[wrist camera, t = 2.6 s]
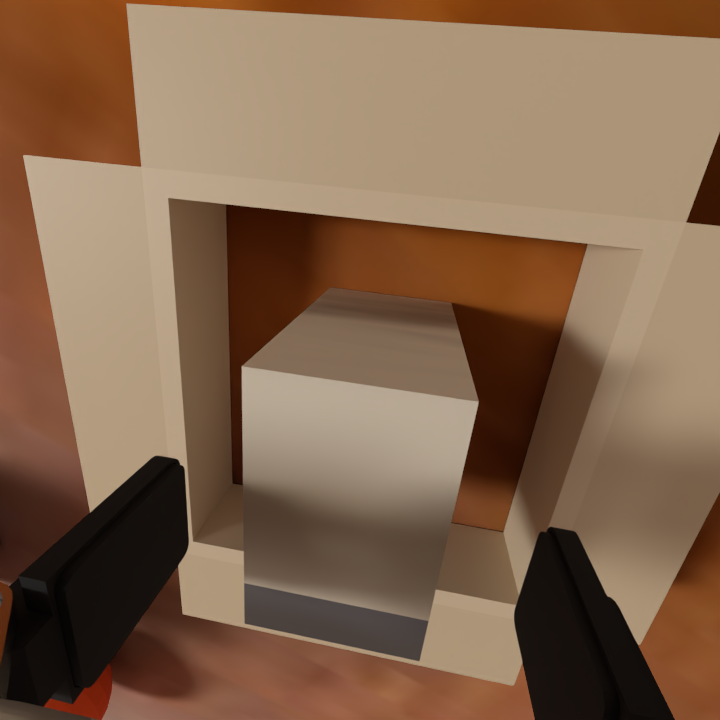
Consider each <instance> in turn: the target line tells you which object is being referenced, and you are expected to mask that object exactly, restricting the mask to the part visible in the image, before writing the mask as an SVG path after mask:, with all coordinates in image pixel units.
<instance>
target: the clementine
mask: <svg viewBox="0 0 720 720" xmlns="http://www.w3.org/2000/svg"><path fill="white" fill-rule="evenodd" d="M111 691H112V670H111V667H110V664H108V666H107V667H106V668H105V670H104V671H103V673H102V674H101V675H100V677H99V678H98V680H97V681H96V682H95V683H94V684H93V685H92V686H91V687H89V688H84V690H83V691H82V692H81V694H80V695H79V696H78V698H77V699H76V701H75V702H74V703H73V704H70V703H66V702H62V701H58V700H54V699H49V700H48V702H47V703H46V704H45V706H44V707H46V708H50V709H55V710H59V711H64V712H68V713H72V714H77V715H81V716H85V717H90V718H94V719H98V720H102V718H103V716H104V714H105V712H106V710H107V707H108V703H109V699H110V695H111Z"/></svg>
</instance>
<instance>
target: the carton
mask: <svg viewBox="0 0 720 720" xmlns="http://www.w3.org/2000/svg"><path fill="white" fill-rule="evenodd" d="M127 15H128V26H129V37H130V48H131V59H132V70H133V81H134V91H135V102H136V113H137V124H138V135H139V146H140V157H141V167H136V166H126V165H116V164H106V163H96V162H86V161H77V160H67V159H57V158H47V157H37V156H27V155H23V157H24V163H25V168H26V173H27V179H28V184H29V189H30V195H31V200H32V205H33V211H34V216H35V221H36V227H37V232H38V237H39V243H40V248H41V253H42V259H43V264H44V269H45V275H46V280H47V285H48V291H49V296H50V301H51V307H52V312H53V317H54V323H55V328H56V333H57V339H58V344H59V349H60V355H61V360H62V366H63V371H64V376H65V382H66V387H67V392H68V398H69V403H70V408H71V414H72V419H73V424H74V430H75V435H76V440H77V446H78V451H79V456H80V462H81V467H82V472H83V478H84V483H85V488H86V494H87V499H88V504H89V510H90V512H91V511H92V510H94V509H95V508H96V507H97V506H98V505H99V504H100V503H101V502H103V501H104V500H105V499H106V498H107V497H108V496H109V495H111V494H112V493H113V492H114V491H115V490H116V489H117V488H118V487H120V486H121V485H122V484H123V483H124V482H125V481H126V480H127V479H129V478H130V477H131V476H132V475H133V474H134V473H135V472H136V471H138V470H139V469H140V468H141V467H142V466H143V465H144V464H145V463H147V462H148V461H149V460H150V459H151V458H152V457H154V456H157V455H158V456H164V457H169V458H175V459H178V460H179V462H180V465H182V466H183V467H184V469H185V483H186V500H187V517H188V535H189V546H188V549H187V552H186V554H185V556H184V558H183V559H182V561H181V562H180V564H179V565H178V570H179V580H180V591H181V602H182V613H183V614H184V615H189V616H193V617H198V618H203V619H207V620H212V621H216V622H221V623H226V624H230V625H235V626H239V627H244V628H249V629H253V630H258V631H263V632H267V633H272V634H276V635H281V636H286V637H290V638H295V639H299V640H304V641H309V642H313V643H318V644H323V645H327V646H332V647H336V648H341V649H346V650H350V651H355V652H359V653H364V654H369V655H373V656H378V657H383V658H387V659H392V660H396V661H401V662H406V663H410V664H415V665H419V666H424V667H429V668H433V669H438V670H442V671H447V672H452V673H456V674H461V675H466V676H470V677H475V678H479V679H484V680H489V681H493V682H498V683H502V684H507V685H512V686H514V684H515V681H516V678H517V676H518V673H519V670H520V668H521V665H522V657H521V653H520V648H519V643H518V639H517V634H516V630H515V624H514V611H515V607H516V604H517V601H518V597H519V594H520V591H521V588H522V585H523V582H524V579H525V576H526V572H527V569H528V566H529V563H530V560H531V557H532V554H533V551H534V547H535V544H536V541H537V538H538V535H539V533H540V532H542V531H543V532H546V531H547V529H548V528H549V527H555V528H560V529H566V530H571V531H575V532H576V533H577V535H578V536H579V538H580V540H581V543H582V545H583V547H584V549H585V551H586V553H587V555H588V557H589V559H590V561H591V563H592V566H593V568H594V570H595V572H596V574H597V576H598V578H599V580H600V582H601V584H602V586H603V589H604V591H605V593H606V595H607V597H611V598H612V599H613V600H614V601H615V602H616V603H617V605H618V607H619V608H620V610H621V612H622V614H623V616H624V618H625V620H626V622H627V624H628V626H629V628H630V630H631V632H632V634H633V636H634V638H635V640H636V642H637V644H639V645H640V644H641V642H642V640H643V638H644V636H645V634H646V633H647V631H648V629H649V627H650V625H651V623H652V621H653V619H654V617H655V615H656V613H657V611H658V610H659V608H660V606H661V604H662V602H663V600H664V598H665V596H666V594H667V592H668V590H669V588H670V587H671V585H672V583H673V581H674V579H675V577H676V575H677V573H678V571H679V569H680V567H681V566H682V564H683V562H684V560H685V558H686V556H687V554H688V552H689V550H690V548H691V546H692V544H693V543H694V541H695V539H696V537H697V535H698V533H699V531H700V529H701V527H702V525H703V523H704V521H705V520H706V518H707V516H708V514H709V512H710V510H711V508H712V506H713V504H714V502H715V500H716V498H717V497H718V495H719V493H720V226H715V225H705V224H695V223H686V221H687V219H688V216H689V213H690V211H691V208H692V205H693V203H694V200H695V197H696V195H697V192H698V189H699V187H700V184H701V181H702V178H703V176H704V173H705V170H706V168H707V165H708V162H709V160H710V157H711V154H712V152H713V149H714V146H715V144H716V141H717V138H718V135H719V133H720V39H716V38H699V37H682V36H665V35H649V34H632V33H615V32H598V31H581V30H564V29H547V28H530V27H513V26H496V25H480V24H463V23H446V22H429V21H412V20H395V19H378V18H361V17H344V16H327V15H310V14H294V13H277V12H260V11H243V10H226V9H209V8H192V7H175V6H158V5H141V4H127ZM226 204H229V205H238V206H247V207H256V208H265V209H274V210H284V211H293V212H302V213H311V214H320V215H329V216H339V217H348V218H357V219H366V220H375V221H384V222H394V223H403V224H412V225H421V226H430V227H439V228H449V229H458V230H467V231H476V232H485V233H494V234H504V235H513V236H522V237H531V238H540V239H549V240H559V241H568V242H577V243H586V244H588V245H587V249H586V252H585V256H584V259H583V262H582V266H581V269H580V273H579V276H578V280H577V283H576V286H575V290H574V293H573V297H572V300H571V303H570V307H569V310H568V314H567V317H566V320H565V324H564V327H563V331H562V334H561V338H560V341H559V344H558V348H557V351H556V355H555V358H554V361H553V365H552V368H551V372H550V375H549V379H548V382H547V385H546V389H545V392H544V396H543V399H542V402H541V406H540V409H539V413H538V416H537V419H536V423H535V426H534V430H533V433H532V437H531V440H530V443H529V447H528V450H527V454H526V457H525V460H524V464H523V467H522V471H521V474H520V477H519V481H518V484H517V488H516V491H515V495H514V498H513V501H512V505H511V508H510V512H509V515H508V518H507V522H506V525H505V529H504V532H499V531H493V530H488V529H482V528H477V527H471V526H466V525H460V524H454V523H451V526H450V530H449V534H448V539H447V543H446V548H445V552H444V556H443V561H442V565H441V569H440V574H439V578H438V582H437V587H436V591H435V596H434V600H433V604H432V609H431V613H430V617H429V622H428V626H427V630H426V635H425V639H424V644H423V648H422V652H421V657H420V661H415V660H411V659H406V658H401V657H397V656H392V655H387V654H383V653H378V652H374V651H369V650H364V649H360V648H355V647H350V646H346V645H341V644H337V643H332V642H327V641H323V640H318V639H313V638H309V637H304V636H300V635H295V634H290V633H286V632H281V631H276V630H272V629H267V628H263V627H258V626H253V625H249V624H245V617H244V530H243V485H238V484H233V482H232V440H231V397H230V354H229V311H228V268H227V225H226Z"/></svg>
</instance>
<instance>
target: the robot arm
mask: <svg viewBox="0 0 720 720" xmlns="http://www.w3.org/2000/svg"><path fill="white" fill-rule="evenodd" d="M188 546H189V535H188V517H187V500H186V483H185V469H184V467H183V466H182V465H180V462H179V460H178V459H175V458H169V457H164V456H158V455H157V456H154V457H152V458H151V459H150V460H149V461H148V462H147V463H145V464H144V465H143V466H142V467H141V468H140V469H139V470H138V471H136V472H135V473H134V474H133V475H132V476H131V477H130V478H129V479H127V480H126V481H125V482H124V483H123V484H122V485H121V486H120V487H118V488H117V489H116V490H115V491H114V492H113V493H112V494H111V495H109V496H108V497H107V498H106V499H105V500H104V501H103V502H101V503H100V504H99V505H98V506H97V507H96V508H95V509H94V510H92V511H91V512H90V513H89V514H88V515H87V516H86V517H85V518H83V519H82V520H81V521H80V522H79V523H78V524H77V525H76V526H74V527H73V528H72V529H71V530H70V531H69V532H68V533H67V534H65V535H64V536H63V537H62V538H61V539H60V540H59V541H57V542H56V543H55V544H54V545H53V546H52V547H51V548H50V549H48V550H47V551H46V552H45V553H44V554H43V555H42V556H41V557H39V558H38V559H37V560H36V561H35V562H34V563H33V564H32V565H30V566H29V567H28V568H27V569H26V570H25V571H24V572H23V573H21V574H20V575H19V578H18V579H17V580H16V581H15V582H14V583H12V584H11V585H10V586H8V585H6V584H3V583H0V720H98V719H94V718H90V717H85V716H81V715H77V714H72V713H68V712H64V711H59V710H55V709H50V708H46V707H44V706H45V704H46V703H47V702H48V700H49V699H54V700H58V701H62V702H66V703H70V704H73V703H74V702H75V701H76V699H77V698H78V696H79V695H80V694H81V692H82V691H83V690H84V688H89V687H91V686H92V685H93V684H94V683H95V682H96V681H97V680H98V678H99V677H100V675H101V674H102V673H103V671H104V670H105V668H106V667H107V666H108V664H109V663H110V661H111V660H112V658H113V657H114V656H115V654H116V653H117V651H118V650H119V649H120V647H121V646H122V644H123V643H124V641H125V640H126V639H127V637H128V636H129V634H130V633H131V632H132V630H133V629H134V627H135V626H136V624H137V623H138V622H139V620H140V619H141V617H142V616H143V615H144V613H145V612H146V610H147V609H148V607H149V606H150V605H151V603H152V602H153V600H154V599H155V598H156V596H157V595H158V593H159V592H160V590H161V589H162V588H163V586H164V585H165V583H166V582H167V581H168V579H169V578H170V576H171V575H172V573H173V572H174V571H175V569H176V568H177V566H178V565H179V564H180V562H181V561H182V559H183V558H184V556H185V554H186V552H187V549H188ZM514 624H515V630H516V634H517V639H518V643H519V648H520V653H521V657H522V662H523V666H524V671H525V676H526V680H527V685H528V689H529V694H530V698H531V703H532V708H533V712H534V717H535V720H675V719H674V717H673V715H672V713H671V711H670V709H669V707H668V705H667V703H666V701H665V699H664V697H663V695H662V693H661V691H660V689H659V687H658V685H657V683H656V681H655V679H654V677H653V675H652V673H651V671H650V669H649V667H648V665H647V663H646V661H645V659H644V657H643V655H642V653H641V651H640V648H639V646H638V644H637V642H636V640H635V638H634V636H633V634H632V632H631V630H630V628H629V626H628V624H627V622H626V620H625V618H624V616H623V614H622V612H621V610H620V608H619V607H618V605H617V603H616V602H615V601H614V600H613V599H612V598H611V597H607V595H606V593H605V591H604V589H603V586H602V584H601V582H600V580H599V578H598V576H597V574H596V572H595V570H594V568H593V566H592V563H591V561H590V559H589V557H588V555H587V553H586V551H585V549H584V547H583V545H582V543H581V540H580V538H579V536H578V535H577V533H576V532H575V531H571V530H566V529H560V528H555V527H549V528H548V529H547V531H546V532H543V531H542V532H540V533H539V535H538V538H537V541H536V544H535V547H534V551H533V554H532V557H531V560H530V563H529V566H528V569H527V572H526V576H525V579H524V582H523V585H522V588H521V591H520V594H519V597H518V601H517V604H516V607H515V611H514Z"/></svg>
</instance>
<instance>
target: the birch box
mask: <svg viewBox="0 0 720 720" xmlns="http://www.w3.org/2000/svg"><path fill="white" fill-rule="evenodd" d="M478 403H479V401H478V397H477V394H476V390H475V386H474V383H473V379H472V376H471V372H470V368H469V365H468V361H467V358H466V354H465V350H464V347H463V343H462V340H461V336H460V332H459V329H458V325H457V322H456V318H455V314H454V311H453V307H452V304H451V302H443V301H435V300H427V299H419V298H411V297H404V296H396V295H388V294H380V293H372V292H364V291H356V290H348V289H341V288H333V287H330V288H329V289H328V290H327V291H326V292H325V293H324V294H322V295H321V296H320V297H319V298H318V299H317V300H316V301H315V302H313V303H312V304H311V305H310V306H309V307H308V308H307V309H306V310H304V311H303V312H302V313H301V314H300V315H299V316H298V317H297V318H295V319H294V320H293V321H292V322H291V323H290V324H289V325H288V326H286V327H285V328H284V329H283V330H282V331H281V332H280V333H279V334H277V335H276V336H275V337H274V338H273V339H272V340H271V341H270V342H268V343H267V344H266V345H265V346H264V347H263V348H262V349H261V350H259V351H258V352H257V353H256V354H255V355H254V356H253V357H252V358H250V359H249V360H248V361H247V362H246V363H245V364H244V365H242V443H243V530H244V617H245V624H249V625H253V626H258V627H263V628H267V629H272V630H276V631H281V632H286V633H290V634H295V635H300V636H304V637H309V638H313V639H318V640H323V641H327V642H332V643H337V644H341V645H346V646H350V647H355V648H360V649H364V650H369V651H374V652H378V653H383V654H387V655H392V656H397V657H401V658H406V659H411V660H415V661H420V657H421V652H422V648H423V644H424V639H425V635H426V630H427V626H428V622H429V617H430V613H431V609H432V604H433V600H434V596H435V591H436V587H437V582H438V578H439V574H440V569H441V565H442V561H443V556H444V552H445V548H446V543H447V539H448V534H449V530H450V526H451V521H452V517H453V513H454V508H455V504H456V499H457V495H458V491H459V486H460V482H461V478H462V473H463V469H464V465H465V460H466V456H467V451H468V447H469V443H470V438H471V434H472V430H473V425H474V421H475V417H476V412H477V408H478Z"/></svg>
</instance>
